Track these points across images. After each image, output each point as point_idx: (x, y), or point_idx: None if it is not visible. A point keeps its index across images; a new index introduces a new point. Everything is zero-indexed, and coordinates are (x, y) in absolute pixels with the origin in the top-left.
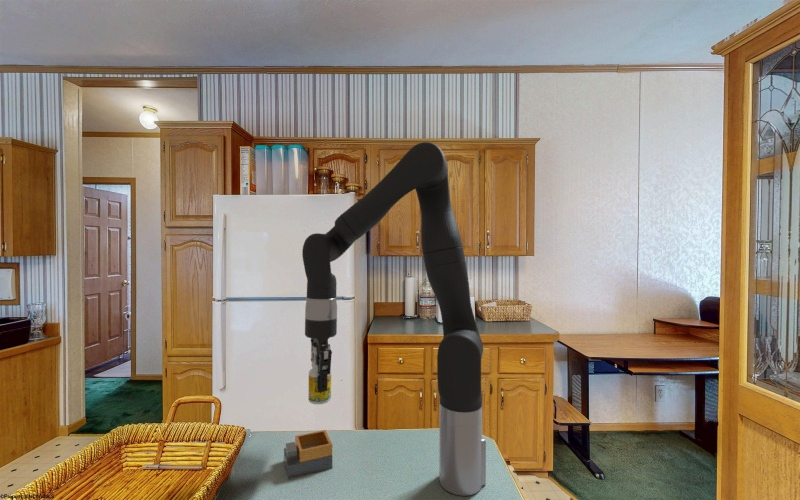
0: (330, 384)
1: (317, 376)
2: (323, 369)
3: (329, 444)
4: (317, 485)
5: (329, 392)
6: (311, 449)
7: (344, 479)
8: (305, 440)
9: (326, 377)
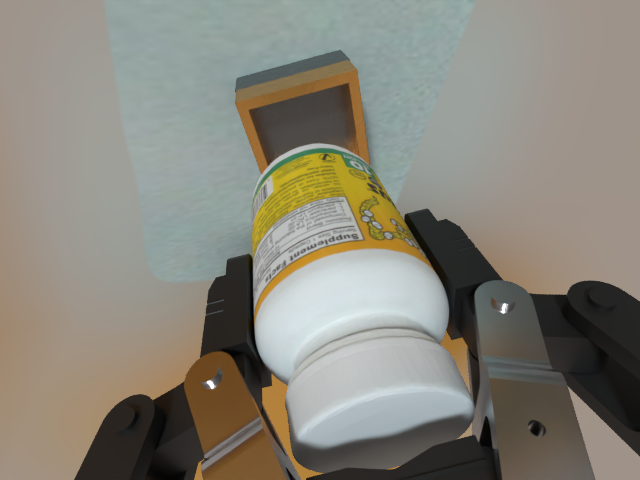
0: (368, 196)
1: (447, 329)
2: (593, 361)
3: (354, 81)
4: (408, 94)
5: (364, 174)
6: (366, 143)
7: (409, 5)
8: (269, 164)
9: (469, 271)
